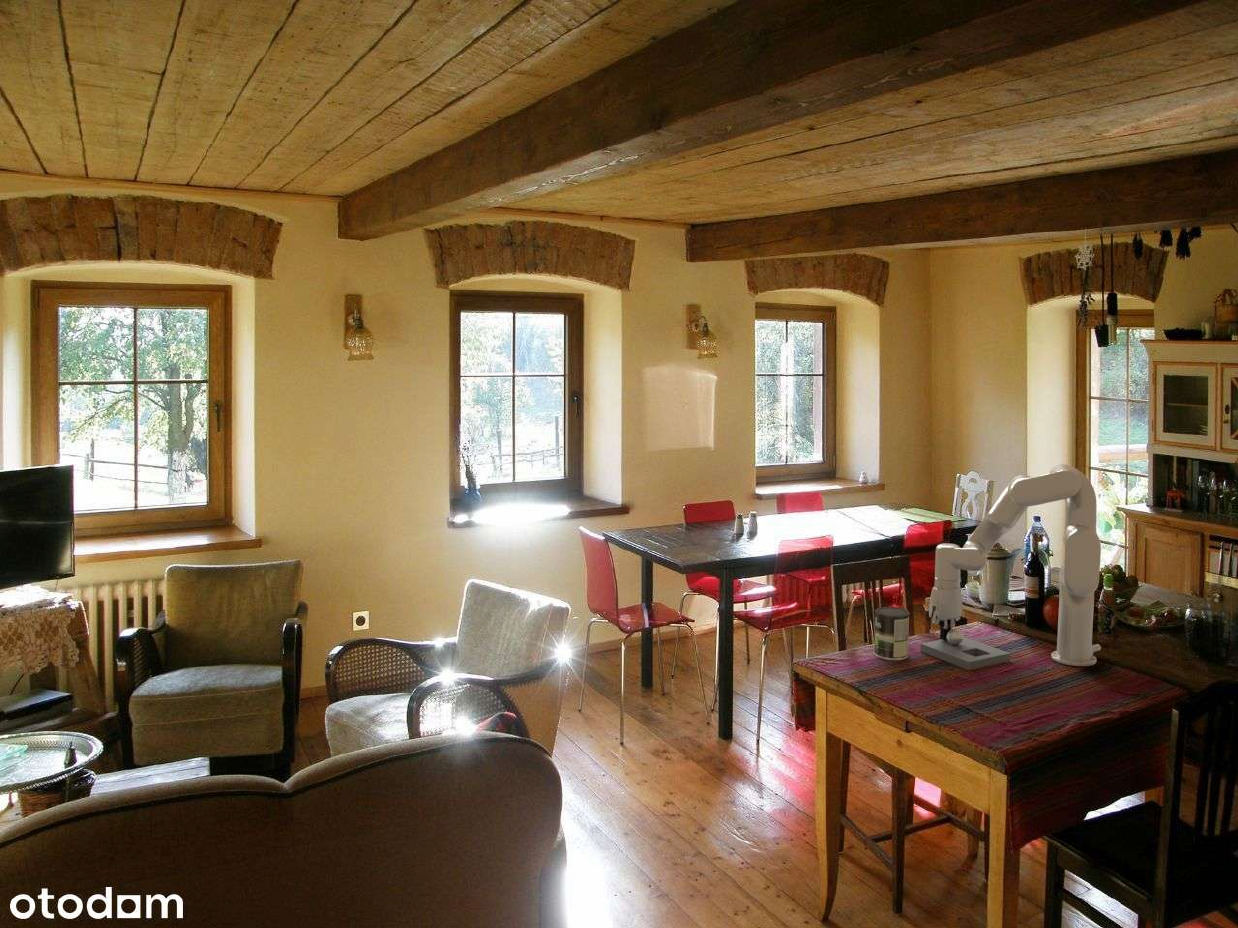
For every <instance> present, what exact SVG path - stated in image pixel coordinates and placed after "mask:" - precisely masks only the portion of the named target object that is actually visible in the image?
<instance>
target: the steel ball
mask: <svg viewBox="0 0 1238 928" xmlns="http://www.w3.org/2000/svg"><path fill="white" fill-rule="evenodd" d="M963 636H964V633H963V632H962V631H961V630H960V629H957V628H951V630H950V631H949V632H948V633H947V640H948V642H949V643H950V644H952V645H959V644H960V643H962V641H963Z"/></svg>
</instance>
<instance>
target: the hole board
mask: <svg viewBox="0 0 1238 928" xmlns="http://www.w3.org/2000/svg"><path fill="white" fill-rule="evenodd" d="M920 652H922V653H924V654H927V655H929V656H932V657H933V658H936V659H939V660H942V661H944V662H947V663H949V664H952V665H953V666H957V667H959V668H962V669H965V670H967V671H970V670H975V669H980V668H984V667H990V666H994V665H998V664H1003V663H1007V662H1011V653H1010V652H1008V651H1005V650H1002V649H999V648H997V647H994V646H991V645H988V644H986V643H983V642H980V641H978V640H975V639H971V638H969V637H966V636H964V635H963V641H962V643H960V644H959V645H952V644H950V643H949V642H948V641H944V640H942V639H938V640H932V641H928V642H922V643H920Z"/></svg>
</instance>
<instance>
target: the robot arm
mask: <svg viewBox="0 0 1238 928" xmlns="http://www.w3.org/2000/svg"><path fill="white" fill-rule="evenodd" d="M1062 500H1064V503H1065V504H1064V505H1065V506H1064V507H1065V508H1064V510H1065V511H1064V513H1065V515H1064V517H1065V518H1064V529H1063V536H1062V542H1063V546H1064V560H1063V561H1064V562H1063V563H1062V565H1061V567H1060V570H1059V596H1058V597H1059V602H1058V603H1059V604H1058V620H1057V621H1058V622H1057V637H1056V638H1057V641H1056V650H1054V651H1052V652H1051V653H1050V655H1051V656H1050V658H1051V659H1052V660H1053V661H1055V662H1056V663H1058V664H1063V665H1066V666H1072V667H1073V666H1075V667H1089V666H1090V667H1091V666H1093V665H1095V664H1096V663H1097V657H1096V655H1094V653H1095V652H1098V651H1101V649H1102V646H1101V645H1100V644H1099V643H1098V644H1093V627H1094V626H1093V625H1094V622H1093V621H1094V611H1095V610H1094V608H1095V591H1096V590H1097V589H1098V587H1099V583H1100V571H1101V558H1102V557H1101V556H1102V555H1101V554H1102V546H1101V540H1100V538H1099V535H1098V533H1097V496H1096V492H1095V488H1094V486H1093V485H1092V483H1091V481H1090V480H1089V478H1088V477H1087V475H1085V474H1084V473H1083V472H1082V471H1081V470H1079V469H1077V468H1076V467H1073V466H1072V465H1069V464H1058V465H1055V466H1054V467H1052V468H1051V470H1050V471H1049V472H1048V473H1045V474H1041V475H1037V476H1030V475H1028V474H1019V475H1016V476H1015V477H1013V478H1012V479H1011V480H1010V481H1009V482H1008V484H1007V485H1006V487H1005V488H1004V489H1003V491H1002V492H1001V494H1000V496H999V497H998V498H997V499H996V501H994V504H993V505H992V507H990V509H989V511H988V512H987V513H986V514H985V516H984V517H983V519H982V521H980V523H979V524H978V525H977V526H976V528H975V529H974V531H973V532H972V533H971V535H970V536H969V538H968V539H967V541H966V542H965V543H964V544H963V546H962V547H960V545H958V544H955V543H939V544H938V545H937V546H936V547H935V562H934V563H935V565H934V586H933V587H932V589H931V594H930V598H929V607H928V616H929V617H930V618H932V619H931V623H932V624H935V625H937V626H938V627H939V640H941V639H942V640H944V641H948V640H947V633H948V632H949V631H950V630H952V629H954V624H955V623H956V622H957V621H960V620H961V616H962V615H963V592H962V587H961V583H962V578H961V570H963V571H969V572H979V571H981V570H983V569H984V568H985V567H986V565H987V563H988V557H987V556H988V555H989V553H990V552H991V551H992V549H993V547H994V546H995V545H996V543H997V542H998V541H999V540H1000V539H1001V538H1002V537H1003V536H1004V535H1006V533H1008V532H1010V531H1011V530H1012V529H1013V528H1015V526H1016V525H1017V523H1018V522H1019V521H1020V519H1021V518H1022V516H1023V514H1024V513H1025V512H1026V511H1027V510H1028V508H1029V507H1034V506H1039V505H1044V504H1048V503H1054V502H1057V501H1062Z"/></svg>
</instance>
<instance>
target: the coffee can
mask: <svg viewBox="0 0 1238 928" xmlns="http://www.w3.org/2000/svg"><path fill="white" fill-rule="evenodd" d="M874 612H875V620H874V623H875V624H874V653H873V654H874V656H875V657H876V658H879V659H882V660H886V661H902V660H906V659H907V658H908V657H909V631H910V630H909V627H910V624H909V623H910V615H911V614H910V611H909V610H908V609H905V608H901V607H897V606H895V607H894V606H884V607H883V606H882V607H878V608H876V609H875V611H874Z"/></svg>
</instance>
